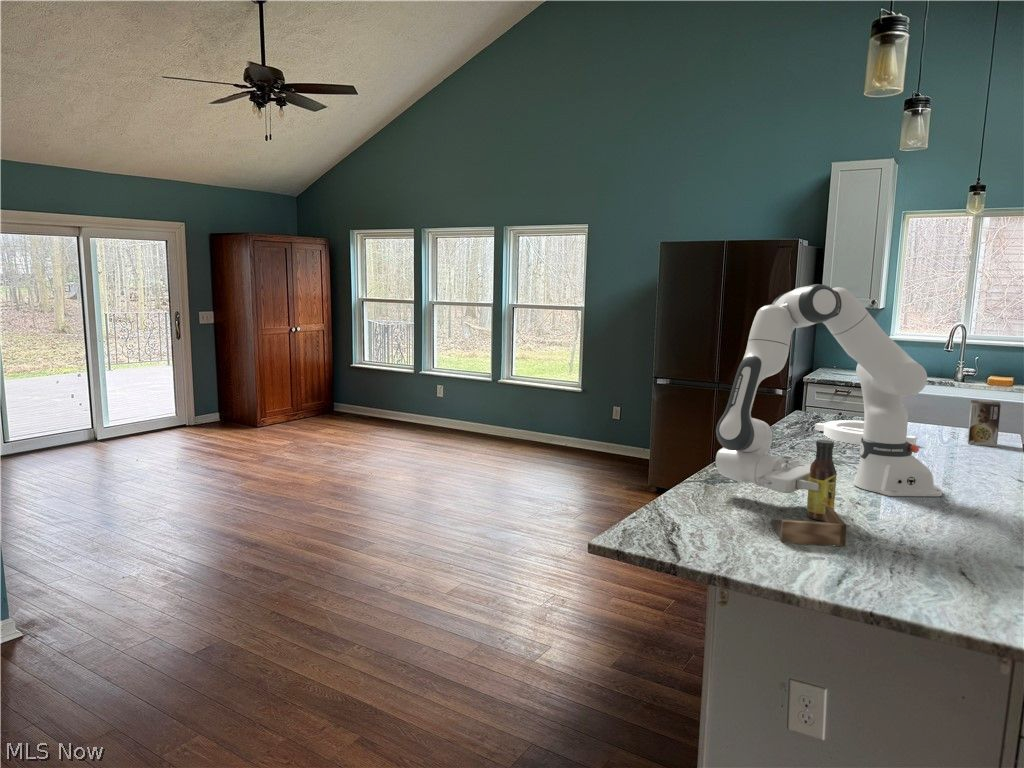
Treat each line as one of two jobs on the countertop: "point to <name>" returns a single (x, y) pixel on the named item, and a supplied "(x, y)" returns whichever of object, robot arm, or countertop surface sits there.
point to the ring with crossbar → (848, 431)
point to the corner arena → (813, 530)
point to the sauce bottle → (822, 481)
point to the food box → (984, 423)
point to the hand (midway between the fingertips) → (825, 484)
